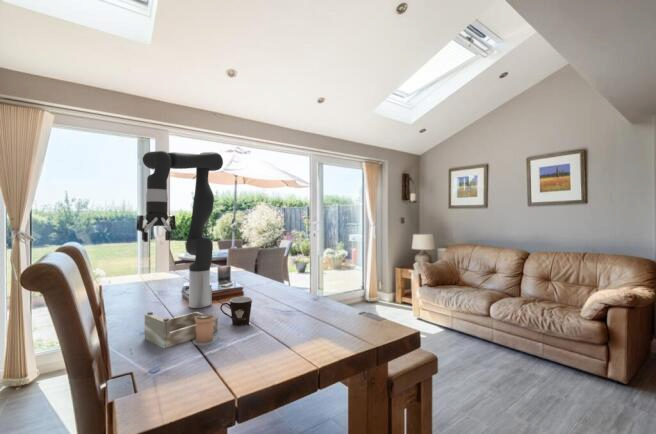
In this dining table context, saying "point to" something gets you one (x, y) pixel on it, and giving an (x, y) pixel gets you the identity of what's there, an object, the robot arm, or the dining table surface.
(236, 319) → the coffee mug
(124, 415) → the dining table surface
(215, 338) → the saucer
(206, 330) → the pot
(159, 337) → the wooden box
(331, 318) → the dining table surface
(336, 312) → the dining table surface
